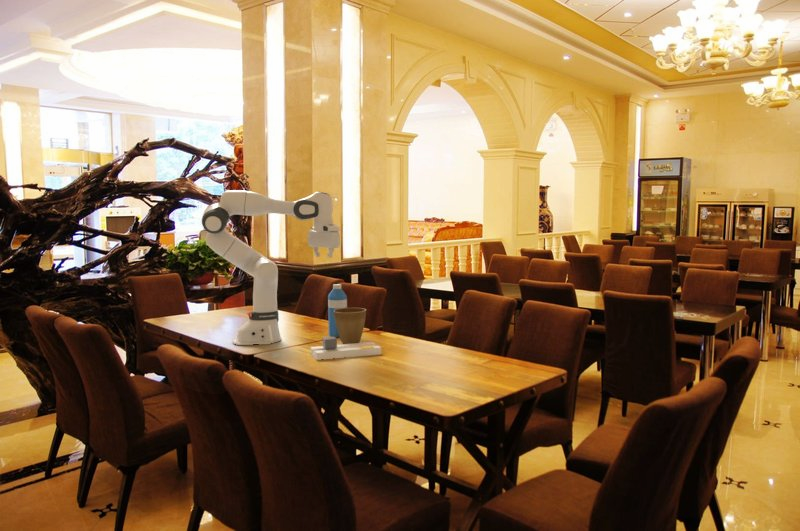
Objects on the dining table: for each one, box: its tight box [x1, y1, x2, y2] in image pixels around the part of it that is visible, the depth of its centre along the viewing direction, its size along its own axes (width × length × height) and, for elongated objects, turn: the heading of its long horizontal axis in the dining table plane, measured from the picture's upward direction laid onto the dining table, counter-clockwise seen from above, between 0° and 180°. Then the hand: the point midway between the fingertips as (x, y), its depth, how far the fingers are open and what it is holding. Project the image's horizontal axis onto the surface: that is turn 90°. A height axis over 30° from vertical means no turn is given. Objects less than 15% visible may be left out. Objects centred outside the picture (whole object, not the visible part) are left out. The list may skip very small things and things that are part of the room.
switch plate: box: [310, 341, 382, 361], centre depth 266 cm, size 28×12×3 cm, turn 110°
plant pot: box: [334, 307, 367, 344], centre depth 284 cm, size 15×15×16 cm
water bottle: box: [327, 283, 348, 338], centre depth 305 cm, size 9×9×25 cm
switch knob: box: [321, 336, 338, 350], centre depth 263 cm, size 5×5×6 cm
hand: (323, 257), depth 288 cm, fingers open, 8 cm apart
